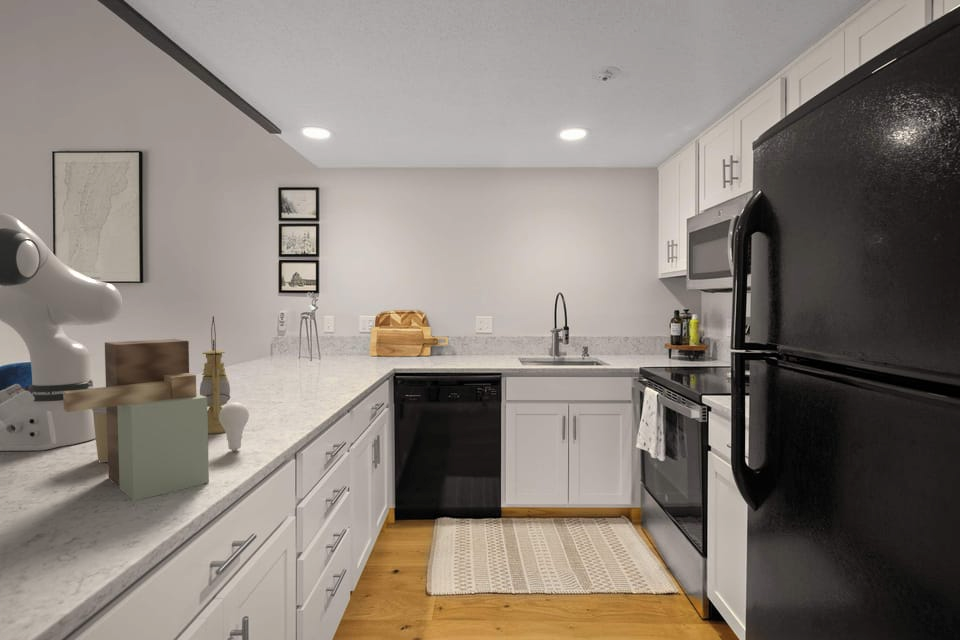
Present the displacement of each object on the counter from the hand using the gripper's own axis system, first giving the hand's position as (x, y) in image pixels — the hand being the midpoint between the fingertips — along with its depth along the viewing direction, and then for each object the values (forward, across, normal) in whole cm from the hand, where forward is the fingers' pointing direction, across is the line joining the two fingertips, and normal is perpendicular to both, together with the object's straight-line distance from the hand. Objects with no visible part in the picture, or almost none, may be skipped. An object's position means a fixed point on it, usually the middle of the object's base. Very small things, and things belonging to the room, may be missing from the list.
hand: (26, 390), depth 81 cm
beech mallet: (+10, 0, +10) cm, 15 cm away
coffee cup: (+6, +26, +26) cm, 38 cm away
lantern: (+26, +37, +38) cm, 59 cm away
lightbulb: (+22, +13, +36) cm, 44 cm away
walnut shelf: (+7, +9, +27) cm, 29 cm away
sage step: (+6, 0, +27) cm, 27 cm away
